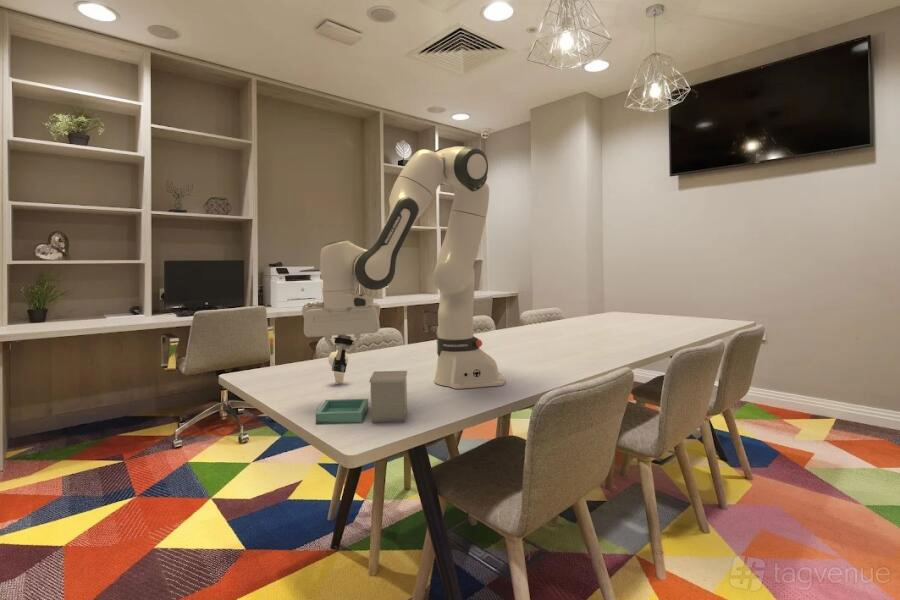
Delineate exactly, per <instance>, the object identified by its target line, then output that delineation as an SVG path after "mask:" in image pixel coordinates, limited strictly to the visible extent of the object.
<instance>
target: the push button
mask: <svg viewBox="0 0 900 600" xmlns="http://www.w3.org/2000/svg"><path fill="white" fill-rule="evenodd" d="M333 342H334V344H335V345H336V346H337V347H338V348H337V350H338V352H337V355H336V357H335V359H334V361H333V366H332V367H331V368H330V369H331V371H337V372H344V374H345V373H346V372H347V371H346V370H347V366H348V363H345V362H346V359H345V353H347V349H348V348H350V347H351V344H353V343H355V341H354V339H353V340H352V336H351V335H337V337H334V341H333Z"/></svg>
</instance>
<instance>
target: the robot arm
mask: <svg viewBox="0 0 900 600" xmlns="http://www.w3.org/2000/svg"><path fill="white" fill-rule="evenodd" d="M488 161H489V160H488V158H487V155H486V154H485V152H484V151H483V150H481V149H479V148H477V147H473V146H459V145H457V146H452V147H446V148H445V147H444V148H438V149H436V150H429V149H426V148H425V149H424V148H423V149H419V150H417V151H416V152H415V153H414V154H413V155H412V156H411V157H410V158H409V160H408V161H407V163H406V164H405V165H404V166H403V168H402V170H401V172H400V173H399V174H398V177H397V179H396V180H395V182H394V183H393V187H392V189H391V192H390V194H389V198H388V203H389V215H388V218H387V220H386V222H385V224H384V226H383V228H382V230H381V231H380V234H379V236H378V237H377V239H376V241H375V243H374V244H373V245H371V247H370V248H369V249H367V248H363V247H361V246H358V245H356V244H354V243H353V242H351V241H349V239H342V240H337V241H336V240H335V241H331V242H328V243H325V245H323V247H322V248H321V249H320V255H319V256H320V257H319V258H320V259H319V264H320V276H321V279H322V290H321V291H322V301H317V302H307V303H306V304H304V305H302V306H303V307H302V308H301V312H302V317H303V334H304V335H305V337H307V338H313V337H324V342H325V343H327V345H328V346H329V352H330V353H332V352H336V351H337V350H338V348H337V345H336V344H333V342H332V340H331V339H332V336H338V335H347V336H351V335H353V336H354V339H355V341H354V342H352V344H351V346H350V351H351V352H353V351H354V352H355V351H356V352H357V351H358V350H359V349H358V343H359V342H360V339H361V336H362V334H363V335H364V334H376V333H377V332H379V330H380V329H381V325H380V324H381V323H380V318H379V313H378V309H377V308H376V307H375V306H374V305H373V304H374V298H373V297H372V296H369V295H367V294H366V295H365V294H360V293H357V291H356V286H357V285H361V286H362V287H364V288H365V289H367V290H373V291H377V290H383V289H384V288H386V287H387V286H389V284H391V282H392V281H393V280H394V278H395V273H396V261H397V257H398V254H399V252H400V250H401V248H402V246H403V244H404V242H405V240H406V238H407V236H408V234H409V233H410V231H411V228H412V227H413V225H414V224H415V223H416V222H417V221H418V219H419V217H421V215H422V214H423V213H424V211H426V209H427V207H428V206H429V205H430V203H431V201H432V199H433V197H434V195H435V193H436V191H437V189H438V188H439V186H442V185H443V186H450V187H452V189H453V195H454V196H453V201H452V204H451V210H450V213H449V218H448V223H447V227H446V230H445V231H446V232H445V235H444V238H443V243H442V244H441V247H440V251H439V254H438V257H437V260H436V263H435V264H436V265H435V268H434V271H433V276H432V277H433V283H434V285H435V286H436V288H437V289H438V290H439V291H440V295H439V304H438V305H439V306H438V310H437V325H438V326H437V327H438V328H437V333H438V334H437V337H436V353H437V365H436V372H435V376H434V379H433V382H434V383H435V384H437V385H440V386H445V387H448V388H452V389H455V390H460V389H461V390H462V389H463V390H464V389H474V388H484V387H485V388H486V387H498V386H503V385H505V384H506V378H505V376H504V374H502V373H501V372H499V369H498V364H497V362H496V360H495V359H494V358H493V357H492V356H490V354H487V353H486V351H484V350H482V349H481V348H480V347H482V346H483V342H482V340H481V339H480V338H478V337H476V336H474V302H475V282H476V281H475V280H476V278H475V276H476V273H475V268H474V265H475V261H476V258H477V254H478V251H479V247H480V245H481V243H482V239H483V233H484V229H485V224H486V220H487V216H488V209H489V201H490V187H489V185H488V182H486V181H487V179H488V172H489V164H488V163H489V162H488Z"/></svg>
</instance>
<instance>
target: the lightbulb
mask: <svg viewBox="0 0 900 600" xmlns="http://www.w3.org/2000/svg"><path fill="white" fill-rule="evenodd" d="M337 352H338V349H337V351H336V352H330V354H329V356H328V363H329V365H330V367H331V368H332V366H333V361H334V359H335V357H336V355H337ZM345 359H346V362H345V363H347V364H348V363H349V360H350V359H349V355H348V353H347V352H346V353H345ZM333 376H334V381H335V383H336V384H338V385H341V384H342V383H344V377H345V373H344V372H337V371H333Z"/></svg>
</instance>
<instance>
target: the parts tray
mask: <svg viewBox="0 0 900 600" xmlns="http://www.w3.org/2000/svg"><path fill="white" fill-rule="evenodd" d="M368 410H369V399H368V398H350V399H349V398H347V399H346V398H345V399H344V398H343V399H340V398H339V399H326V400H324V402H323V403H322V405H320V407H319V408H318V410H317V411H316V412H315V414H314V415H315V424H316V425H320V423H321V424H322V423H330V424H353V423H352V422H362V423H363V421H364V419H363V418H365V417H364V416H366V414H367V413H368ZM350 422H351V423H350ZM322 425H323V424H322Z"/></svg>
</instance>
